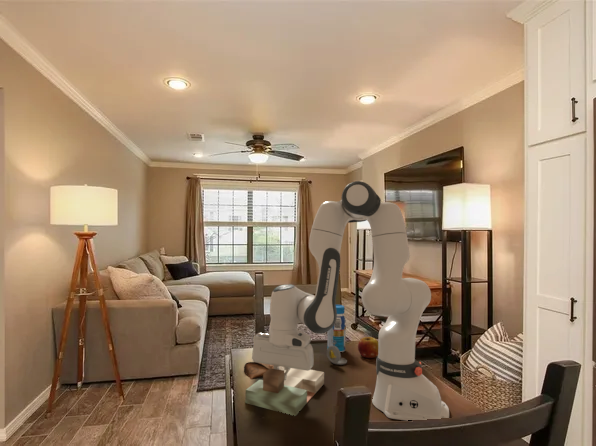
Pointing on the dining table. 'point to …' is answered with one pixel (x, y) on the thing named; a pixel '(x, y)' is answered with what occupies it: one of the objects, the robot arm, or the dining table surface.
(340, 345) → the blue labeled canister
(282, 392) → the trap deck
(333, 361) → the pocket watch
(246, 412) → the dining table surface
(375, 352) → the fruit
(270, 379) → the walnut block
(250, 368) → the sunglasses case
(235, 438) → the dining table surface
